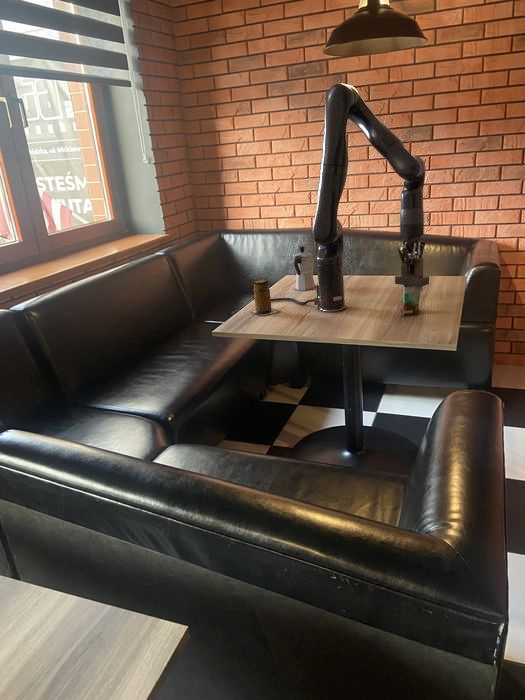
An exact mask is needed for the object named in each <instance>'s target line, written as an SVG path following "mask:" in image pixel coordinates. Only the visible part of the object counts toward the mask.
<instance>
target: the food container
mask: <svg viewBox="0 0 525 700" xmlns="http://www.w3.org/2000/svg"><path fill="white" fill-rule="evenodd" d="M402 286H403V287H402V313H403V316H414V315H417V314H418V313H419V307H420V300H421V299H420V298H421V292H422V291H424V290H423V289H424V288H423V286H422V287H418V286H409V285H402Z"/></svg>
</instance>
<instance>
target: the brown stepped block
mask: <svg viewBox="0 0 525 700" xmlns="http://www.w3.org/2000/svg"><path fill="white" fill-rule="evenodd" d="M404 259H405V258H404ZM400 270H401V271H400V274H397V275H395V276H394V285H401V286H403V285H409V286H418V287H422V288H423V287H425V286H428V285H429V284H430V275H424V258H423V257H422V258H413V275H407V274H406V264H405V263H402V261H400Z"/></svg>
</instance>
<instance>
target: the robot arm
mask: <svg viewBox="0 0 525 700" xmlns="http://www.w3.org/2000/svg"><path fill="white" fill-rule="evenodd" d="M348 120H350V121H351V122H352V123H353V124H355V125H356V126H357V127H358V129H359V130H360V131H361V132H362V133H363V135H364V136H365V138H366V139H367V141H368V142H369V143H370V145H371V146H372V147H373V149H374V150H376V152H377V153H378V154H380V155H381V156H382V157H383V158H384V159H385V160H386V161H387V162H388V163H389V165H390V166H391V168H392V169H393V171H394V172H395V173H396V174H397V175H398V177H400V178H401V179H402V180H403V185H402V186H403V188H402V190H401V192H400V210H399V211H400V213H399V237H401V238H402V239H403V241H402V246H401V247H398V248H397V251H398V254H399V255H398V256H399V257H400V260H401V261H402V263H405V264H406V274H407V275H413V258H423V254H424V251H425V247H426V241H425V240H424V241H423V240H422V237H423V236H424V235H425V211H424V188H425V181H426V180H425V179H426V163H425V161H424V160H423V158H422V157H420V156H416V155H412V154H411V152H410V151H408V150H407V148H406V147H405V144H404V143H403V141H402V140H401V139H400V137H398V136H397V135H396V134H395V133H394V132H393V131H392V130H391V129H390V128H389V127H387V126H386V124H385V123H384V122H383V121H381V119H380V118H379V117H377V115H376V114H375V113H374V112H373V111H372V109H371V108H370V107H369V105H367V103H366V102H365V100H364V99H363V97H362V96H361V95H360V93H359V92H358V90H357V89H356V88H355V87H354V86H353V85H350V84H346V83H335V84H333V85H331V86H330V87H329V88H328V90H327V92H326V94H325V98H324V132H323V138H322V139H323V141H322V149H321V158H320V165H319V166H320V167H319V178H318V188H317V189H318V190H317V205H316V211H315V215H314V221H313V225H312V230H311V231H312V238H313V241H314V242H315V244H317V246H318V251H317V255H316V269H317V270H316V271H317V283H316V284H315V288H316V297H314V298H311V299H308V300H305V301H299V300H297V299H295V298H292V297H277V298H276V297H275V298H270V299H271V302H278V301H291V302H294V303H296V304H298V305H300V306H301V305H303V306H304V305H306V304H308V303H313V304H314V306H315V305H316V306H317V309H318V310H320V311H321V312H324V313H335V312H340V311H343V310H345V309H346V302H345V301H346V299H345V283H344V265H343V263H344V261H343V257H344V229H343V225H342V222H341V221H340V220H339V219H338V211H339V205H340V202H341V199H342V196H343V193H344V190H345V186H346V183H347V177H348V170H349V149H348V142H347V126H348ZM404 258H405V259H404ZM401 261H400V262H401ZM252 300H255V298H254V296H253V297H252Z"/></svg>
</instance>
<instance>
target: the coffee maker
mask: <svg viewBox="0 0 525 700" xmlns="http://www.w3.org/2000/svg"><path fill="white" fill-rule="evenodd" d="M292 257H293V266H294V269H295V272H296V274H295V287H294V289H295V290H296V291H310V290H314V289H315V288H316V283H315V279H314V276H313V272H312V270H313V253H311V252H306V251H305V246H304V245H303V246H299V252H298V253H295V254H293V255H292Z"/></svg>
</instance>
